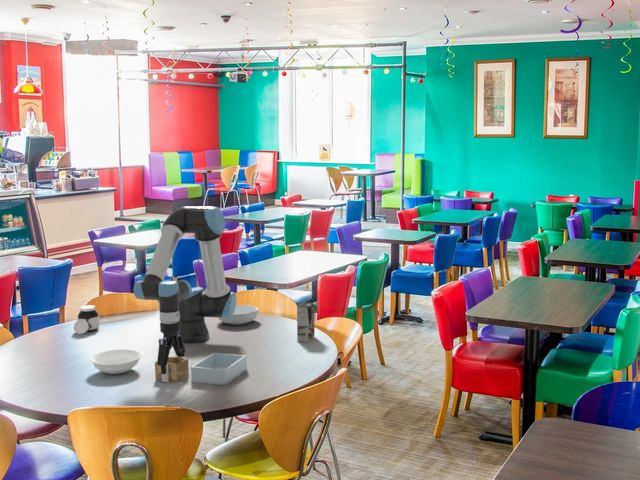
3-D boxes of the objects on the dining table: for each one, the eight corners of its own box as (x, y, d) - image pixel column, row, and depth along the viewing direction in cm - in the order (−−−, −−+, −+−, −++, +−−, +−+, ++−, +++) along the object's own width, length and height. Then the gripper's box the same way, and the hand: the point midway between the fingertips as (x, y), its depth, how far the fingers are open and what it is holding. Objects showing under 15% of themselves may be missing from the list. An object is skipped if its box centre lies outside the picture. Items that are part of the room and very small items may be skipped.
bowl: (115, 383, 291) (114, 367, 290) (80, 375, 302) (79, 359, 301) (152, 369, 308) (152, 353, 307) (118, 361, 318) (117, 346, 317)
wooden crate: (155, 379, 295) (154, 362, 294) (166, 373, 302) (165, 356, 301) (178, 382, 291) (177, 364, 290) (188, 375, 299) (188, 358, 298)
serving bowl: (267, 320, 382) (266, 307, 381) (241, 330, 365) (240, 316, 364) (234, 315, 393) (234, 302, 392) (207, 324, 376) (207, 311, 375)
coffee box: (310, 342, 342) (310, 307, 340) (297, 341, 344) (296, 306, 341) (315, 336, 351) (314, 302, 349) (301, 336, 352) (300, 302, 350)
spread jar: (99, 327, 373) (98, 304, 372) (100, 333, 363) (99, 309, 361) (73, 329, 370) (72, 306, 368) (74, 335, 359) (72, 311, 357)
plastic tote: (191, 382, 291) (190, 367, 290) (214, 366, 309) (213, 352, 308) (225, 385, 287) (225, 370, 286) (246, 370, 305) (246, 355, 304)
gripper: (163, 329, 282) (166, 387, 285) (192, 315, 303) (194, 368, 306) (145, 328, 284) (148, 385, 287) (176, 313, 305) (178, 367, 309)
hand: (172, 377), depth 297 cm, fingers open, 10 cm apart
